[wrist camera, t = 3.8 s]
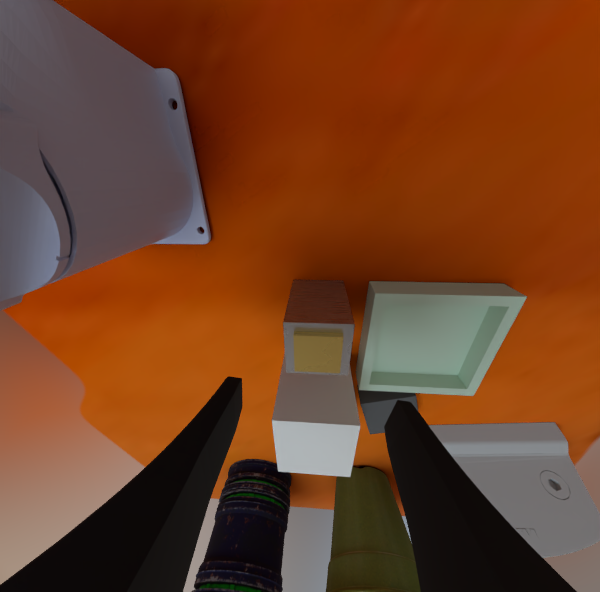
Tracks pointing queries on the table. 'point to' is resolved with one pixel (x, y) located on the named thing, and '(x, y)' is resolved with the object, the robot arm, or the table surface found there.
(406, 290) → the tray
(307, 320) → the block
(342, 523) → the plant pot
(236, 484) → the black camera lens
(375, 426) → the square block
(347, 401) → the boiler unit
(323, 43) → the table surface
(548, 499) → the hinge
